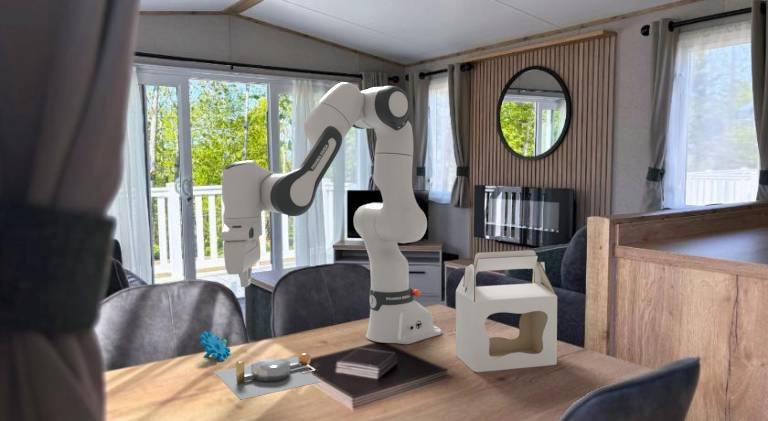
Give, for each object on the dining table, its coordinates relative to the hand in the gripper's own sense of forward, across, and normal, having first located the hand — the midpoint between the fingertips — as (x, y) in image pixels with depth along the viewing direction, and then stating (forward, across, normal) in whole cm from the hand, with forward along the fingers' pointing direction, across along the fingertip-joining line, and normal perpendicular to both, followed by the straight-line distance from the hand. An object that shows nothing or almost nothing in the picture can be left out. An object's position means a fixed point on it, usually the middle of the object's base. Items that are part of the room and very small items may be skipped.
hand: (245, 285), depth 141 cm
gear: (+22, -10, -11) cm, 26 cm away
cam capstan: (+20, +5, +7) cm, 22 cm away
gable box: (+23, -6, +63) cm, 68 cm away
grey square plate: (+21, +5, +6) cm, 23 cm away
